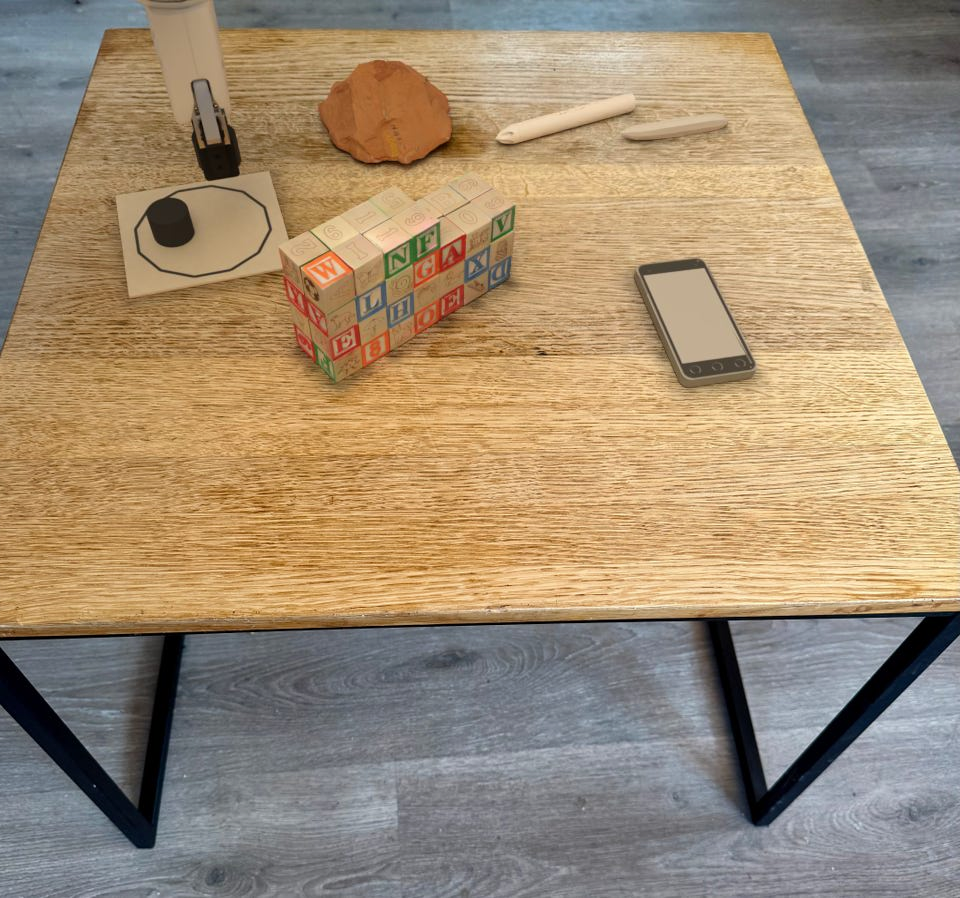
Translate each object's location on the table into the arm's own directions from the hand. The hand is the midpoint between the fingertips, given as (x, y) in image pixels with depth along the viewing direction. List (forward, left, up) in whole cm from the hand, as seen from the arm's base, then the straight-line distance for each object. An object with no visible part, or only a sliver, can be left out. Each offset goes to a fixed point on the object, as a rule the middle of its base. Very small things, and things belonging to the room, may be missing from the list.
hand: (218, 159), depth 83 cm
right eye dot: (0, 0, 0) cm, 0 cm away
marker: (+39, +7, -8) cm, 40 cm away
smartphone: (+40, -25, -8) cm, 48 cm away
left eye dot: (-6, 0, -8) cm, 10 cm away
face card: (-3, 0, -8) cm, 9 cm away
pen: (+51, +3, -8) cm, 52 cm away
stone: (+19, +12, -8) cm, 24 cm away
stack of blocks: (+14, -16, -8) cm, 23 cm away
